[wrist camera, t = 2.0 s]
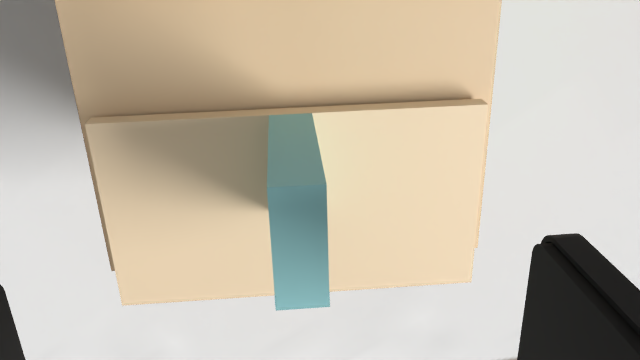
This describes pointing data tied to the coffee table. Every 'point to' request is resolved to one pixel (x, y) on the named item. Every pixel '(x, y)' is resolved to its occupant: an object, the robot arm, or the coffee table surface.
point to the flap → (290, 199)
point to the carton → (274, 56)
